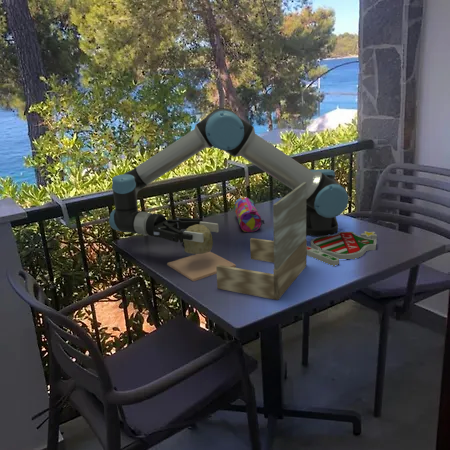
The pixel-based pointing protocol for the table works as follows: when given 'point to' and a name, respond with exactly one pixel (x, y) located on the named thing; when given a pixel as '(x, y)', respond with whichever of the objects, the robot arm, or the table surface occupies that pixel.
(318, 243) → the decorative emblem
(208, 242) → the olive rounded lump
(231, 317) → the table surface
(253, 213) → the pencil case
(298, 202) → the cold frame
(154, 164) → the robot arm
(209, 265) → the terracotta tile
